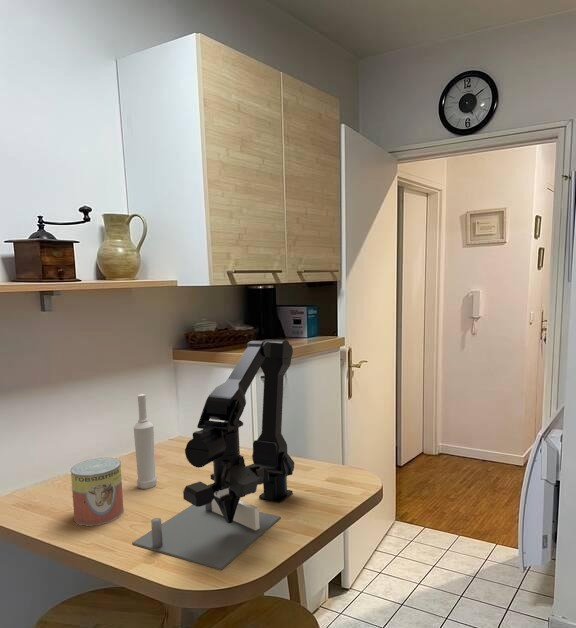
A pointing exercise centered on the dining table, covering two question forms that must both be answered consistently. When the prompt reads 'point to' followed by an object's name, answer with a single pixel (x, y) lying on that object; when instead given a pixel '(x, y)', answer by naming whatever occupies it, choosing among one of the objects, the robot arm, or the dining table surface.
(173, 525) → the plate with peg
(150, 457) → the bottle
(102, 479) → the canned food
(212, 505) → the gate
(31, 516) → the dining table surface
